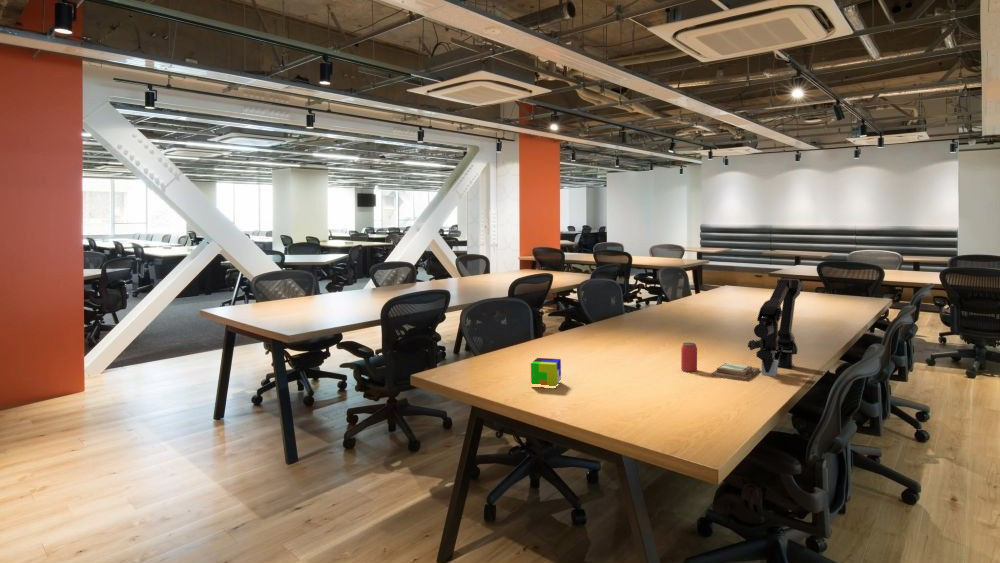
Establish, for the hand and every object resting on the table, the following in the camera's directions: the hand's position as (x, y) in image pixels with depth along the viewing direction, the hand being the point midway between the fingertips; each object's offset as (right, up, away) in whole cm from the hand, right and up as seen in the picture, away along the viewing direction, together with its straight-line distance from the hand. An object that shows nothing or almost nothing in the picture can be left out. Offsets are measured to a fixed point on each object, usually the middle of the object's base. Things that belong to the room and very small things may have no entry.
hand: (769, 370), depth 241 cm
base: (-13, -2, +3) cm, 14 cm away
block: (0, -2, 0) cm, 2 cm away
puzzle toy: (-95, -5, -7) cm, 96 cm away
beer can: (-31, -2, +10) cm, 32 cm away
